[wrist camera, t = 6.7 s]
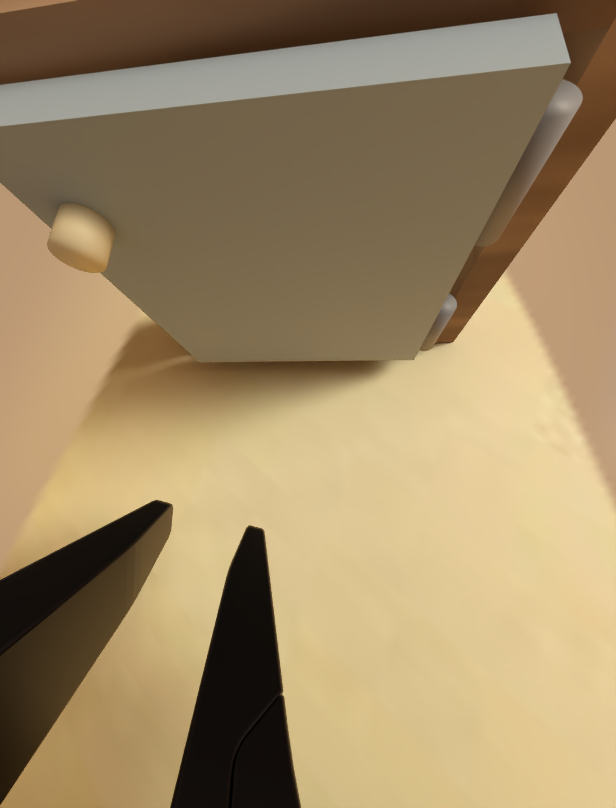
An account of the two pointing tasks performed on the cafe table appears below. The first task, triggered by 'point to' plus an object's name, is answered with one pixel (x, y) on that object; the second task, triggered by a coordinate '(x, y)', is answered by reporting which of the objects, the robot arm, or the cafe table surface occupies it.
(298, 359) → the cabinet door
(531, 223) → the cabinet frame
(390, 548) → the cafe table surface
